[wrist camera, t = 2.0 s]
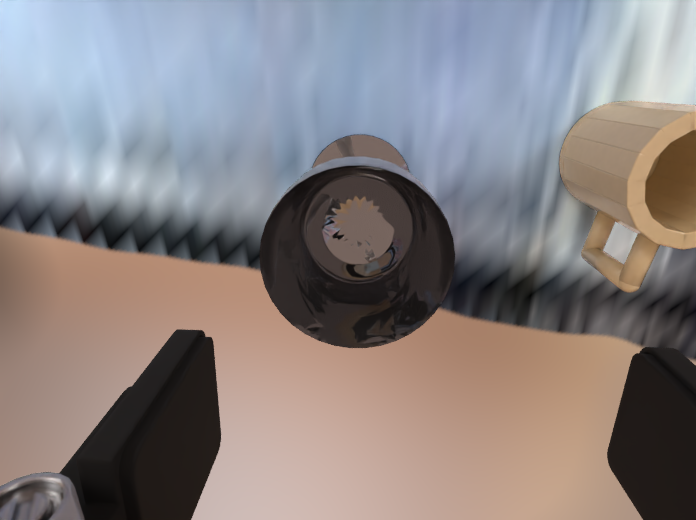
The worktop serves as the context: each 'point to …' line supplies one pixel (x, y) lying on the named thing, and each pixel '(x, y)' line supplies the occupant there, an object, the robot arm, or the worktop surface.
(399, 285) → the wine glass
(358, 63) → the worktop surface
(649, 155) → the wooden mug
